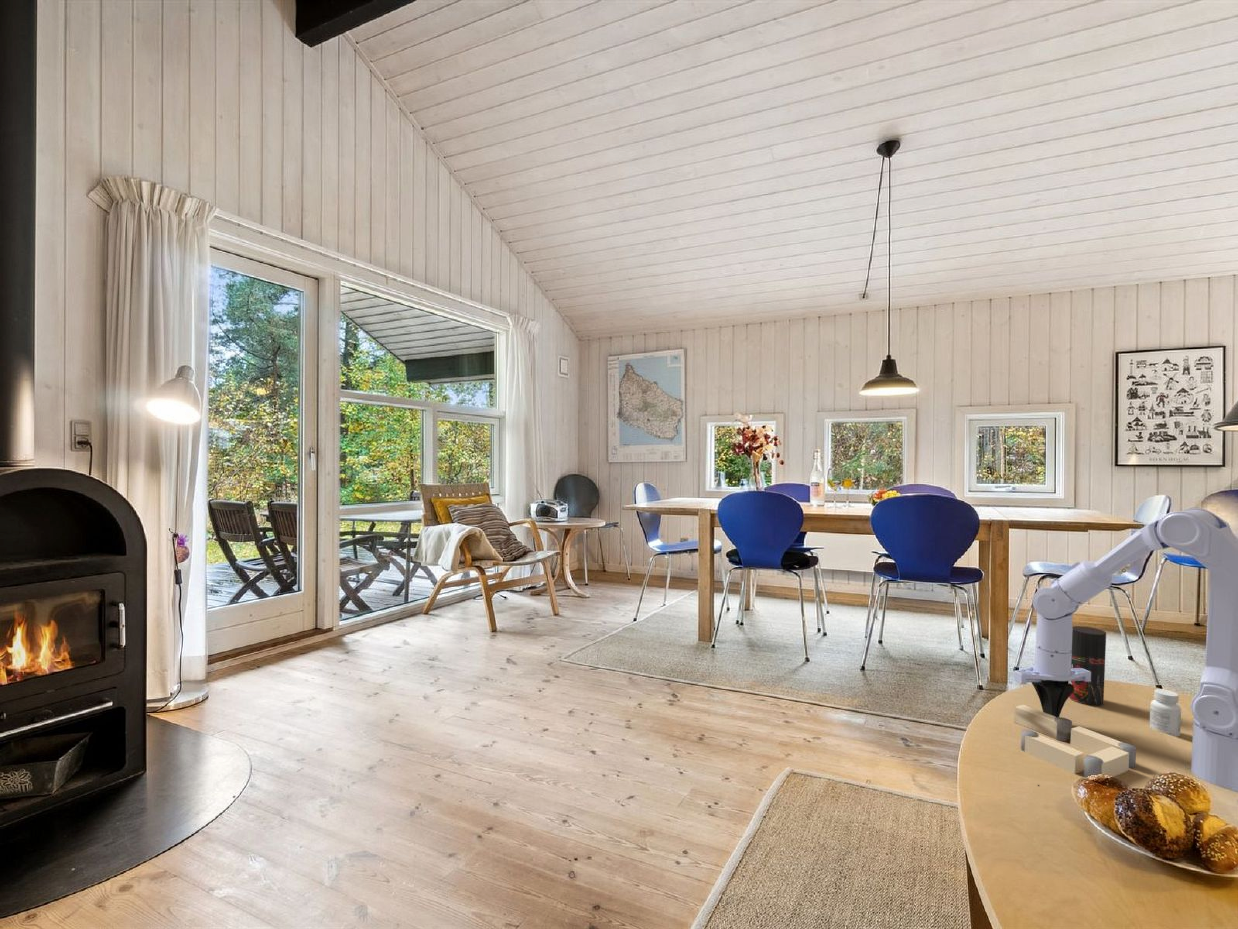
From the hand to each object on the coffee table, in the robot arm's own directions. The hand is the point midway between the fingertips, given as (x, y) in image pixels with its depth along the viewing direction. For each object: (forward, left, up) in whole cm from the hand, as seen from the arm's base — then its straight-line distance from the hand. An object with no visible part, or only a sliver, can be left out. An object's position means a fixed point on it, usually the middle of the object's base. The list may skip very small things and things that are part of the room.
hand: (1050, 718), depth 122 cm
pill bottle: (-11, -17, -2) cm, 20 cm away
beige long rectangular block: (-2, +5, -1) cm, 6 cm away
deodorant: (+4, -20, -2) cm, 20 cm away
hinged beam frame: (-10, +10, -1) cm, 15 cm away
